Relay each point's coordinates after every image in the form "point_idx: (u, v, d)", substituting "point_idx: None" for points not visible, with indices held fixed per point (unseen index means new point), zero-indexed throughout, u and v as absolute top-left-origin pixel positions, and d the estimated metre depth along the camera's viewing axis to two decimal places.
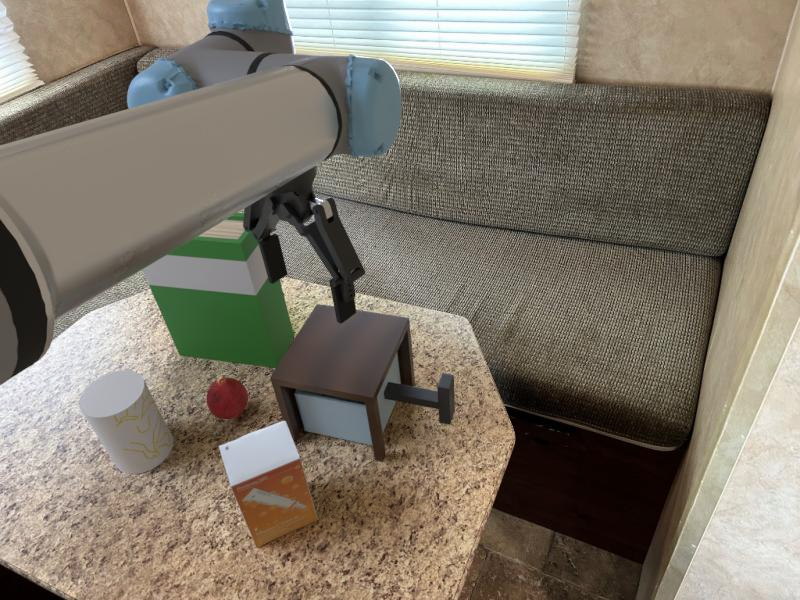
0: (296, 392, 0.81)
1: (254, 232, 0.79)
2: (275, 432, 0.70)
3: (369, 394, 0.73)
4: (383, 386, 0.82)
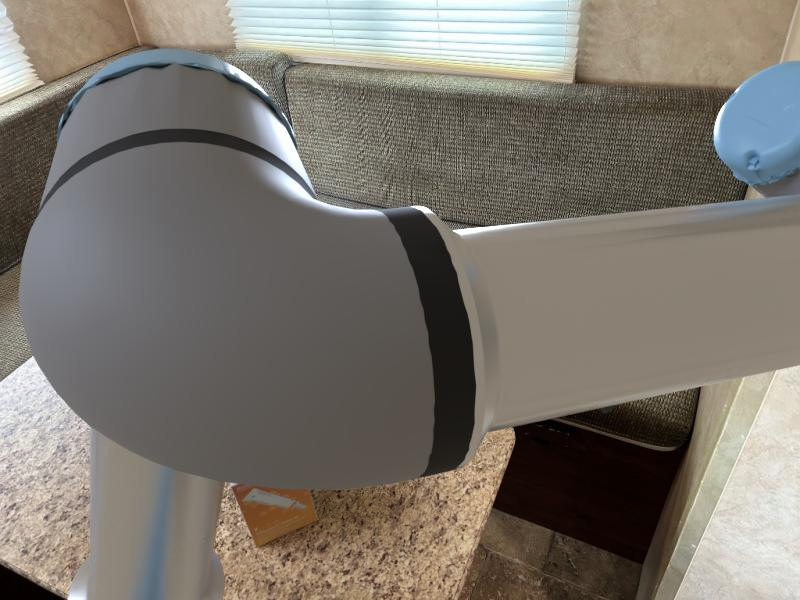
0: None
1: None
2: None
3: None
4: None
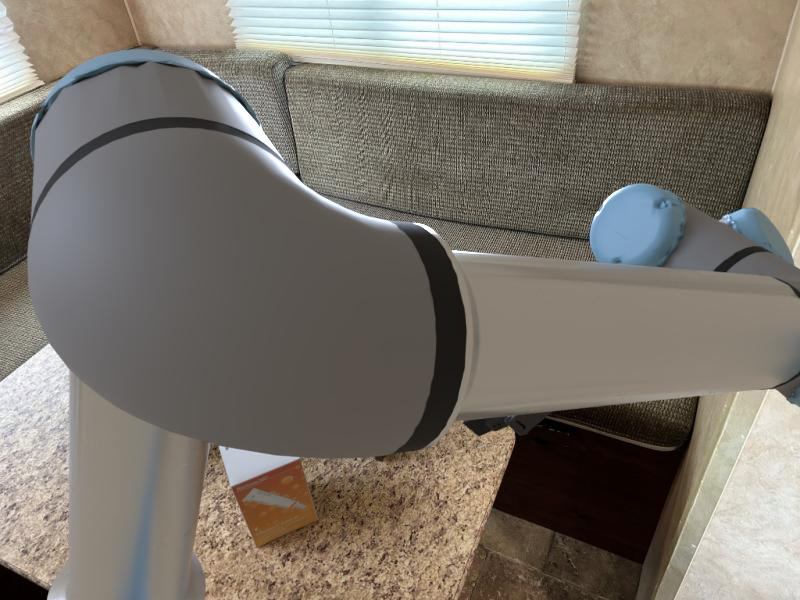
0: None
1: None
2: None
3: None
4: None
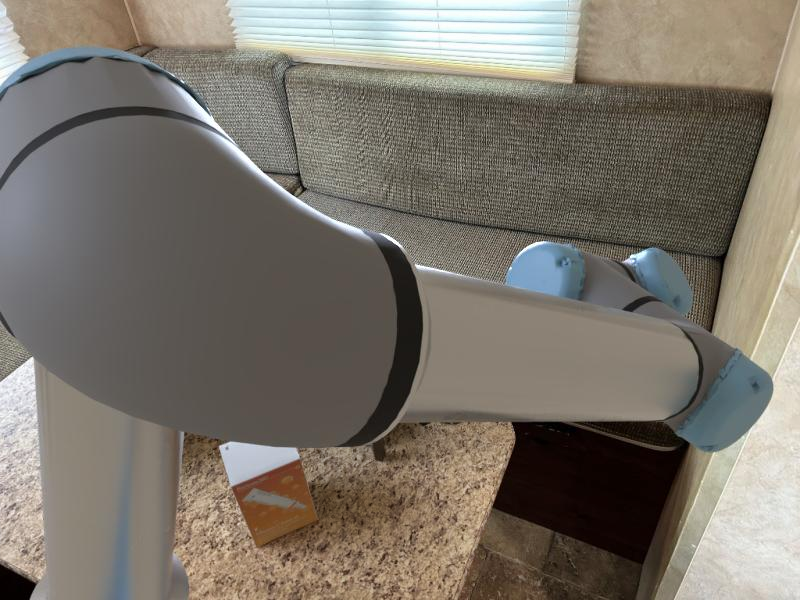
0: None
1: None
2: None
3: None
4: None
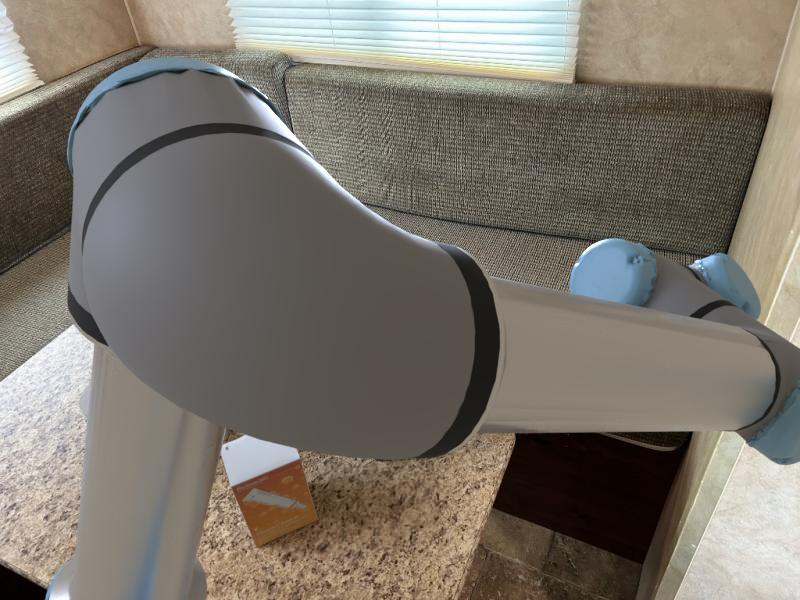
0: None
1: None
2: None
3: None
4: None
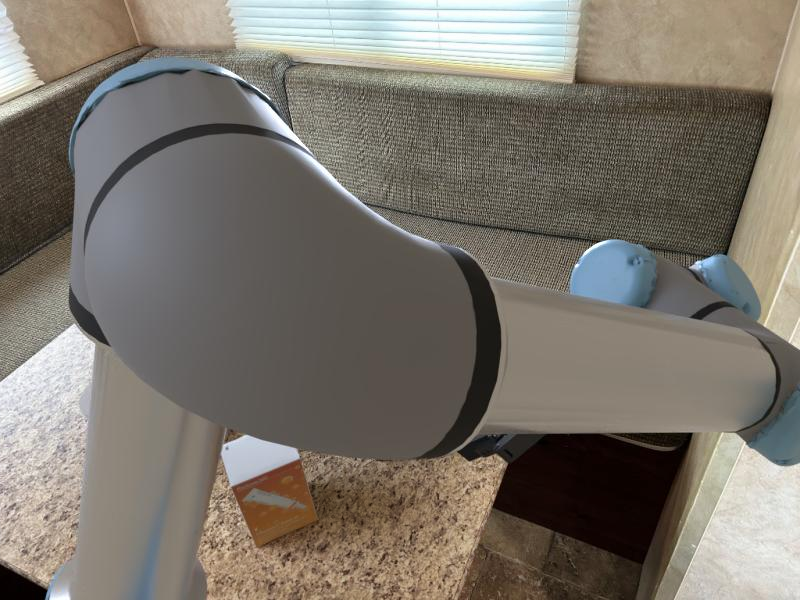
0: None
1: None
2: None
3: None
4: None
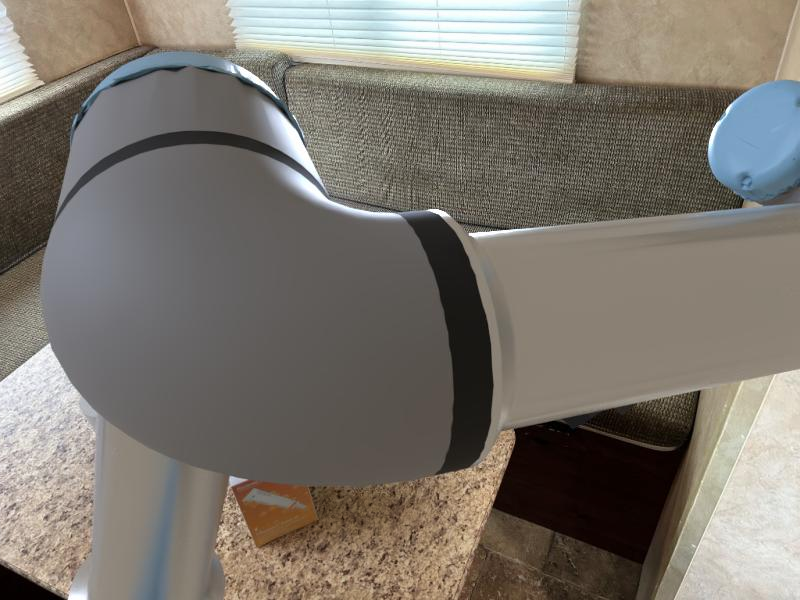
0: None
1: None
2: None
3: None
4: None
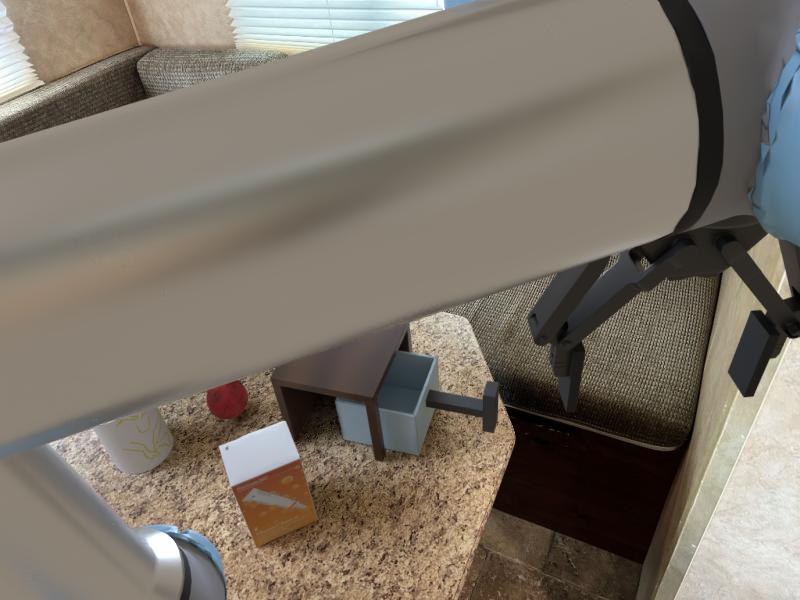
0: (337, 400, 0.79)
1: None
2: (275, 432, 0.70)
3: (369, 394, 0.73)
4: (425, 394, 0.80)
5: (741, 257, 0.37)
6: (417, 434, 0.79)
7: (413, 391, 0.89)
